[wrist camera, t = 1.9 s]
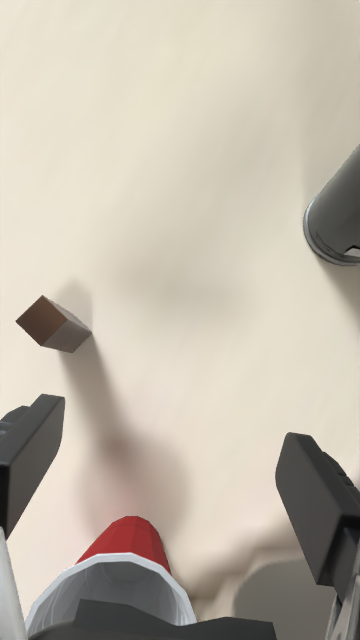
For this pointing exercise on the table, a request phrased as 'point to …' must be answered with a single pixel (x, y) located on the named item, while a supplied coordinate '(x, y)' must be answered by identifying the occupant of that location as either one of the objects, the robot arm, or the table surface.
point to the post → (53, 326)
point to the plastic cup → (116, 579)
